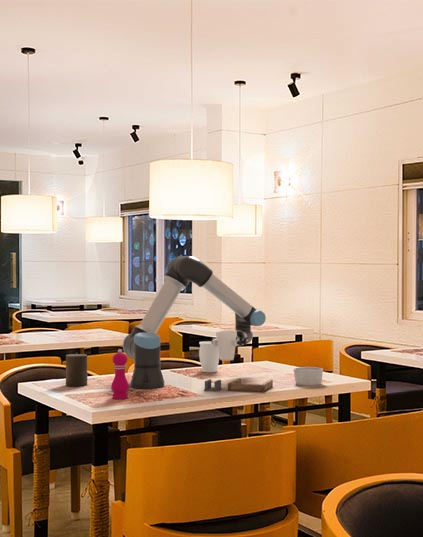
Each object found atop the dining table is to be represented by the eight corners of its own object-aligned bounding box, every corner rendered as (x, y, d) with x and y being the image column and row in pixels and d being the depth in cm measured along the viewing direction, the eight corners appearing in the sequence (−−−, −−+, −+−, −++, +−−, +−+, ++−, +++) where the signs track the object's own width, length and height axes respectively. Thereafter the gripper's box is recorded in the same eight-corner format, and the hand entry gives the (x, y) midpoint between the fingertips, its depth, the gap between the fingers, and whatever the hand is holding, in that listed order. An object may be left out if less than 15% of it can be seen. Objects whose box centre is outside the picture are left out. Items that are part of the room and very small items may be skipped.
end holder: (264, 392, 319) (264, 385, 319) (227, 390, 324) (227, 383, 324) (272, 386, 334) (272, 379, 334) (237, 385, 339) (237, 378, 339)
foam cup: (237, 358, 349) (237, 330, 349) (236, 360, 340) (236, 331, 340) (217, 358, 350) (217, 330, 350) (215, 360, 341) (215, 331, 341)
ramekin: (313, 387, 332) (313, 371, 332) (288, 384, 340) (288, 369, 340) (328, 383, 342) (328, 368, 342) (303, 381, 350) (303, 366, 350)
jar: (196, 370, 388) (196, 341, 388) (216, 369, 391) (215, 340, 391) (202, 373, 378) (202, 343, 378) (222, 372, 381) (222, 342, 381)
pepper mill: (129, 396, 310) (129, 348, 310) (128, 399, 303) (128, 349, 303) (112, 396, 310) (111, 348, 310) (110, 399, 303) (110, 350, 303)
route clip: (217, 391, 322) (217, 381, 322) (204, 390, 324) (204, 381, 324) (221, 389, 328) (221, 379, 328) (208, 388, 330) (208, 379, 330)
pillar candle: (79, 387, 335) (79, 353, 335) (61, 386, 339) (61, 352, 339) (91, 384, 344) (91, 351, 344) (73, 383, 348) (74, 350, 348)
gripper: (259, 346, 358) (247, 352, 337) (215, 345, 365) (200, 351, 344) (259, 331, 358) (247, 335, 337) (215, 330, 365) (200, 334, 344)
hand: (223, 343), depth 340 cm, fingers closed on foam cup, 9 cm apart
